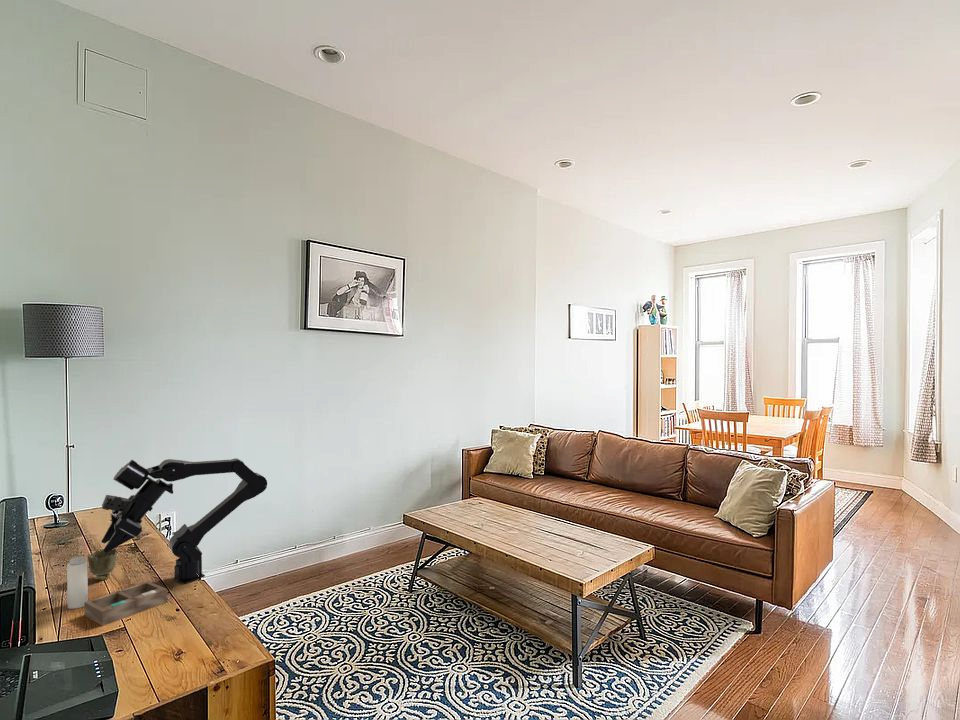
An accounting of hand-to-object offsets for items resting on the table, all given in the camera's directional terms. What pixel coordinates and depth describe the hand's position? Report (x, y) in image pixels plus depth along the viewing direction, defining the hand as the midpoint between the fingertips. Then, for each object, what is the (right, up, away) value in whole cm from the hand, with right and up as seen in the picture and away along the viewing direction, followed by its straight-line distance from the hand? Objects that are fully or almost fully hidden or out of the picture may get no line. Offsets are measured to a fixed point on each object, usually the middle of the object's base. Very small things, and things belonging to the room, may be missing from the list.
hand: (103, 547), depth 154 cm
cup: (-9, -14, +13) cm, 21 cm away
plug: (-4, -14, -5) cm, 15 cm away
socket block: (+10, -14, -7) cm, 19 cm away
